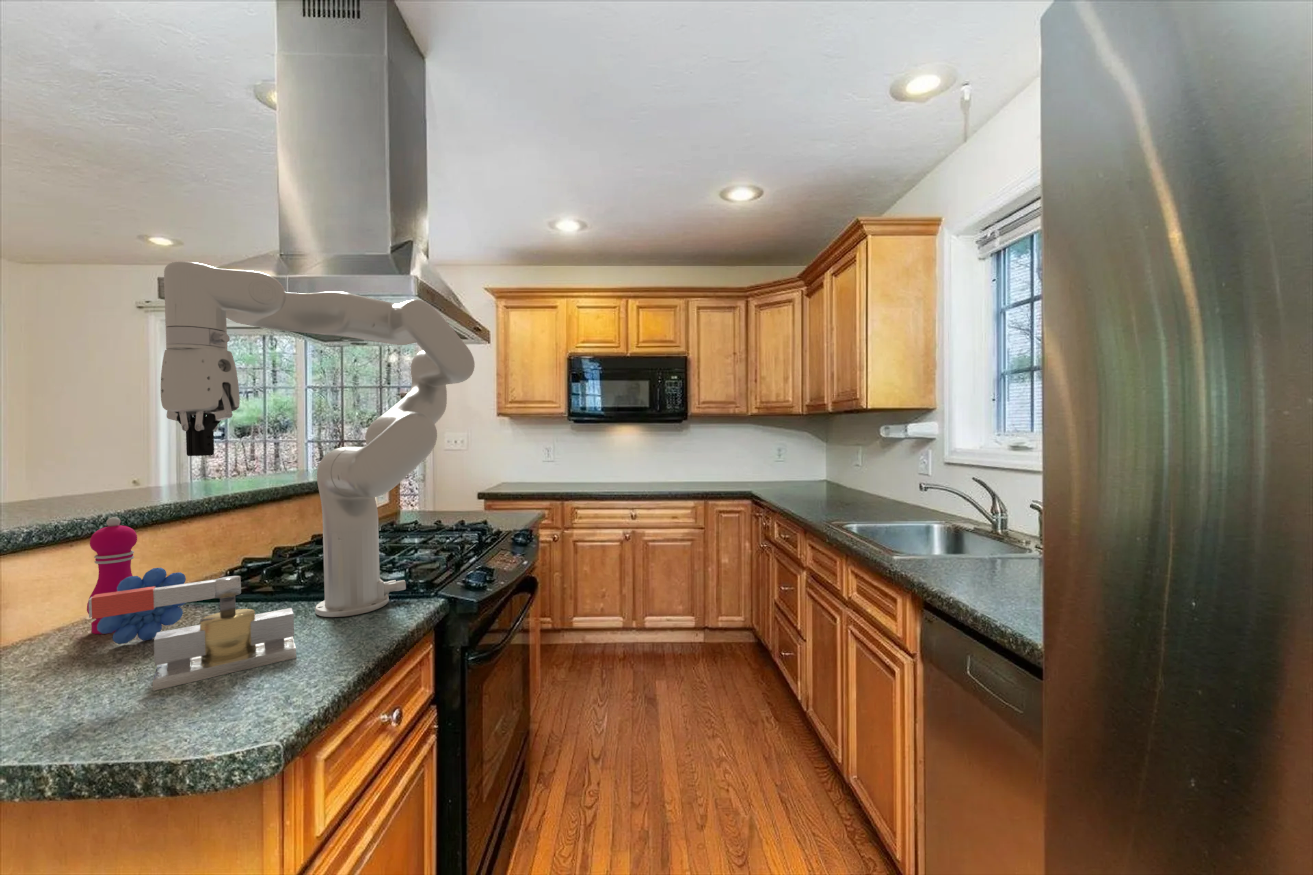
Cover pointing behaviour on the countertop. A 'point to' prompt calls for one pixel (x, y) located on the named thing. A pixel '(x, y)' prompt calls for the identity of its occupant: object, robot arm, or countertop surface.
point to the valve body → (223, 645)
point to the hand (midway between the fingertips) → (200, 455)
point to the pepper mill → (111, 558)
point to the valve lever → (161, 596)
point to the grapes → (148, 620)
